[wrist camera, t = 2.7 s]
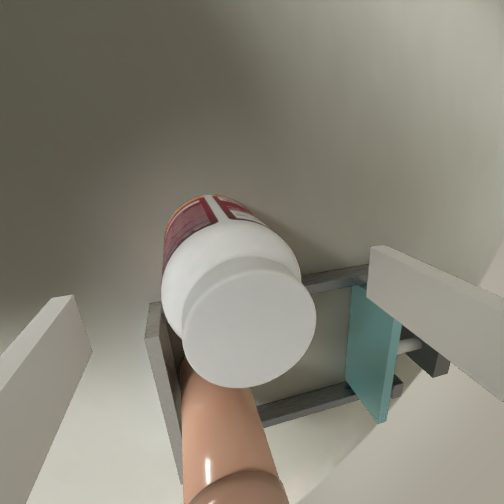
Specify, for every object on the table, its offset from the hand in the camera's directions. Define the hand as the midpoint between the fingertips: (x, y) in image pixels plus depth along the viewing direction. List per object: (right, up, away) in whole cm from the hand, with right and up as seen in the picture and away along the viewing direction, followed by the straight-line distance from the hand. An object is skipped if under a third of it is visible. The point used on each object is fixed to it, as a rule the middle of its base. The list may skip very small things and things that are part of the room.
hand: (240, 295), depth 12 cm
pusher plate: (+12, -5, +14) cm, 19 cm away
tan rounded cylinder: (-3, -7, +11) cm, 13 cm away
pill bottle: (-2, +3, +7) cm, 8 cm away
